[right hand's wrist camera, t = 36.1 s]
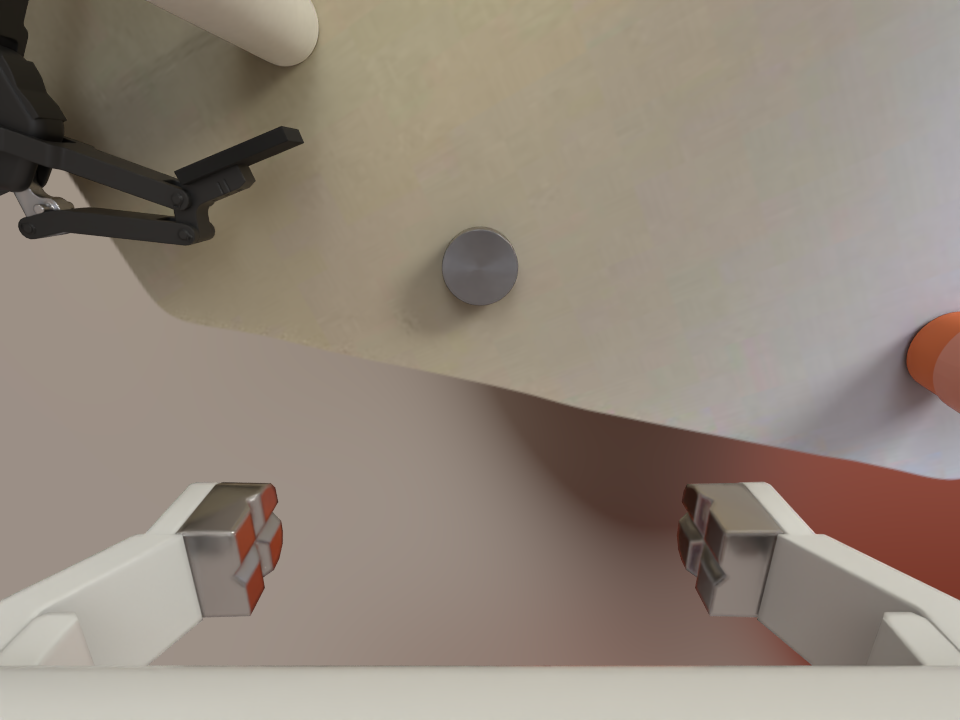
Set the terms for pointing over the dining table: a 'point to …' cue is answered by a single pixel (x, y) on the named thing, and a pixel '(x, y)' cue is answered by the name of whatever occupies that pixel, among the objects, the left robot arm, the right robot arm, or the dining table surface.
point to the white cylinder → (255, 25)
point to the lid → (480, 266)
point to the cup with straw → (938, 358)
